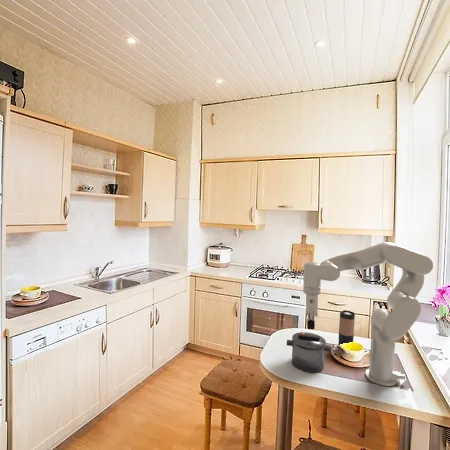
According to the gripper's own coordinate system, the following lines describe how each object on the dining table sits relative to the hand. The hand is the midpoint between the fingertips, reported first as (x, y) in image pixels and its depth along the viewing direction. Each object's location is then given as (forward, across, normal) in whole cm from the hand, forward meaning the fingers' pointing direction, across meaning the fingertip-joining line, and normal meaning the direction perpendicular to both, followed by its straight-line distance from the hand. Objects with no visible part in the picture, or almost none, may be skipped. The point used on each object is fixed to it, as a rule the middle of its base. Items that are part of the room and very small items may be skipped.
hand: (310, 328), depth 138 cm
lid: (+9, +6, +1) cm, 11 cm away
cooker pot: (+20, +6, +1) cm, 21 cm away
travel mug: (+21, +30, -19) cm, 42 cm away
